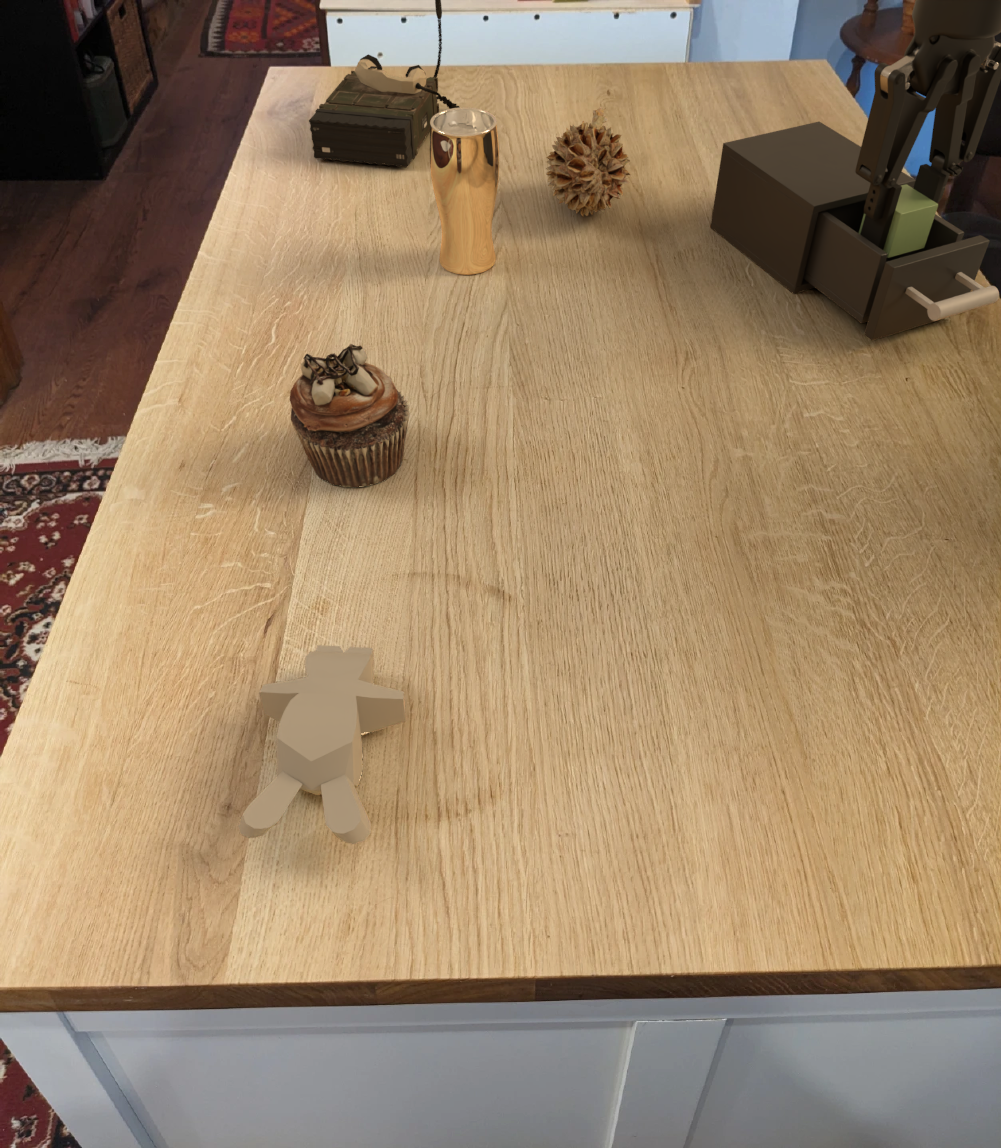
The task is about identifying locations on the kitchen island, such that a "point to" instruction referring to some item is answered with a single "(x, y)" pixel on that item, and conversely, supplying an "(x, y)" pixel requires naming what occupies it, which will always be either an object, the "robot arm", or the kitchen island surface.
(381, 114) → the radio
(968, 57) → the robot arm
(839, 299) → the drawer
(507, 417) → the kitchen island surface
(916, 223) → the block
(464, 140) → the beer glass
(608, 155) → the pine cone
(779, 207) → the cabinet
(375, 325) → the kitchen island surface
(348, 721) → the teddy bear
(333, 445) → the cupcake
